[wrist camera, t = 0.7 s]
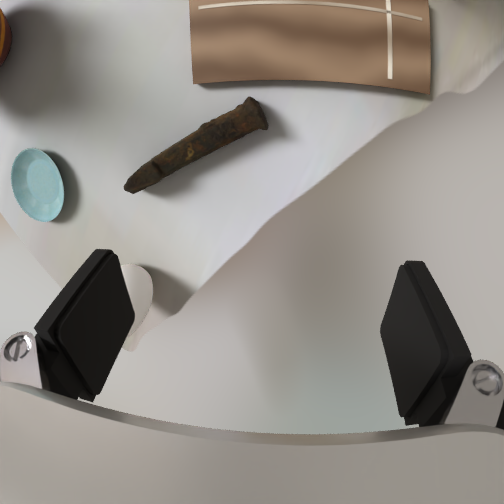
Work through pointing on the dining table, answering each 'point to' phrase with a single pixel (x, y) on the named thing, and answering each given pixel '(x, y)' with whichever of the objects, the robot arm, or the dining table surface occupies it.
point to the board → (312, 41)
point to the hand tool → (200, 144)
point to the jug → (4, 37)
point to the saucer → (37, 185)
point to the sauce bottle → (138, 292)
